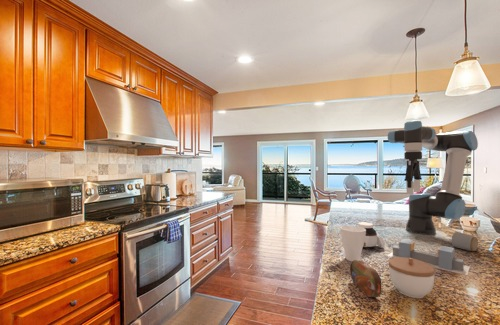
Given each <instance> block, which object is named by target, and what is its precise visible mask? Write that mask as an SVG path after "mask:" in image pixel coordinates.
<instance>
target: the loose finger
mask: <svg viewBox="0 0 500 325" xmlns="http://www.w3.org/2000/svg"><path fill="white" fill-rule="evenodd" d="M415 243H416V242H415V240H413V239H409V238H402V239H401V240H400V241H398V246H399V257H405V258H410V251H412V250H416V249H415V248H416V247H415Z"/></svg>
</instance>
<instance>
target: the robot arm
mask: <svg viewBox="0 0 500 325" xmlns="http://www.w3.org/2000/svg"><path fill="white" fill-rule="evenodd" d="M387 140H388V142H389V143H390V144H404V145H402V147H403V148H404V149H403V150H404V156H403V157H404V160H407V161H406V169H405V176H404V177H405V178H404V181H405V182H406V195H408V215H409V216H408V220H407V222H406V225H405V230H407V231H408V232H411V233H413V234H419V235H420V234H422V235H434V234H436V232H437V230H436V226H435V224H434V221H433V217H437V218H443V219H446V220H459V219H461V218H462V217H463V215H465V212H466V201H465V200H464V199H463V197H462V195H461V194H460V192H461V188H462V182H463V177H464V174H465V169H466V168H465V167H466V163H467V159H468V157H469V156H471V155H472V152H473V151H476V150H477V149H478V146H479V145H478V144H479V143H478V137H477V135H476V134H475V132H473V131H472V130H460V131H451V132H441V133H437V131H436V130H435V129H434V128H433V127H431V126H423V123H422V121H421V120H411V121H406V122H404V125H403V129H394V130H390V131H388V133H387ZM423 148H424V149H425V150H432V151H437V152H445V153H446V154H447V159H446V163H445V164H446V165H445V168H444V173H443V177H442V183H441V186H440V187H441V188H440V190H439V191H437V192H436V194H435V196H433V194H432V193H421V180H422V175H421V169H420V167H421V166H420V161H419V160H422V159H423V152H422V151H423ZM414 192H415V193H414Z"/></svg>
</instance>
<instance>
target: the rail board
mask: <svg viewBox="0 0 500 325" xmlns="http://www.w3.org/2000/svg"><path fill="white" fill-rule="evenodd" d="M388 257H390V258H395V257H399V245H393V246H392V251H390V253H389V254H387V255H386V258H388ZM410 258H413V259H416V260H420V261H423V262H426V263H428V264H430V265H431V266H433V267H434V269H439V270H443V271H448V272H452V273H456V274H458V275H459V274H460V275H463V276H468V274H469V271H470V268H471V266H470V265H469V266H468V265H466V264H465V265H464V260H463V259H460V258H455V257H454V258H453V260H452V271H451V270H447V269H443V268H439V257H438V253H437V254H436V253H431V252H427V251H423V250H417V249H414V250H412V251H410Z"/></svg>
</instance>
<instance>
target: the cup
mask: <svg viewBox="0 0 500 325" xmlns="http://www.w3.org/2000/svg"><path fill="white" fill-rule="evenodd" d="M339 230H340V232H339V233H340V236H341V242H342V245H343V250H344V255H345V259H346V261H349V262H352V261H354V260H356V261H362V260H361V258H362V251H363V245H364V240H365V235H366V229H365V228H362V227H358V225H341V226H340V227H339Z"/></svg>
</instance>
